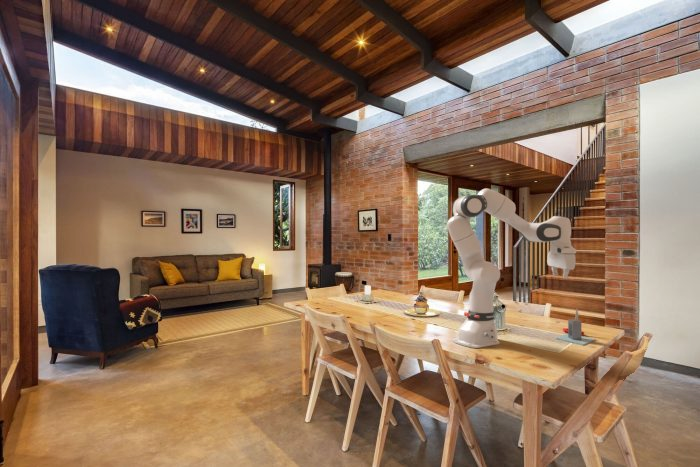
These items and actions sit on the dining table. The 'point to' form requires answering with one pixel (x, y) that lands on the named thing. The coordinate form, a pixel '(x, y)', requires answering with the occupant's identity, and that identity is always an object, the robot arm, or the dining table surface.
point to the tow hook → (575, 318)
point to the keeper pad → (581, 342)
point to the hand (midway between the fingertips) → (560, 277)
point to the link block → (574, 329)
